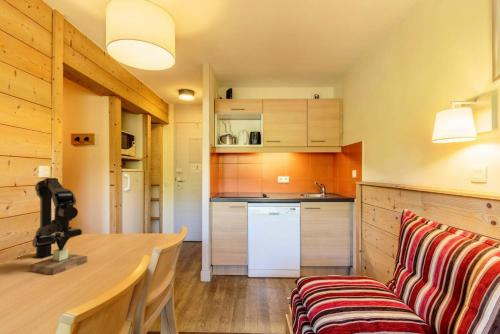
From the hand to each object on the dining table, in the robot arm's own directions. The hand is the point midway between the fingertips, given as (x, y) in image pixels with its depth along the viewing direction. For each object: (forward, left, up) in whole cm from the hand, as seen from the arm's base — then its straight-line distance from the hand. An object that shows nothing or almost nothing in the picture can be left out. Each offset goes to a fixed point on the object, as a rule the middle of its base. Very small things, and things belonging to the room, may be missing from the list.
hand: (60, 249), depth 114 cm
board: (0, 0, -8) cm, 8 cm away
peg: (0, 0, -8) cm, 8 cm away
